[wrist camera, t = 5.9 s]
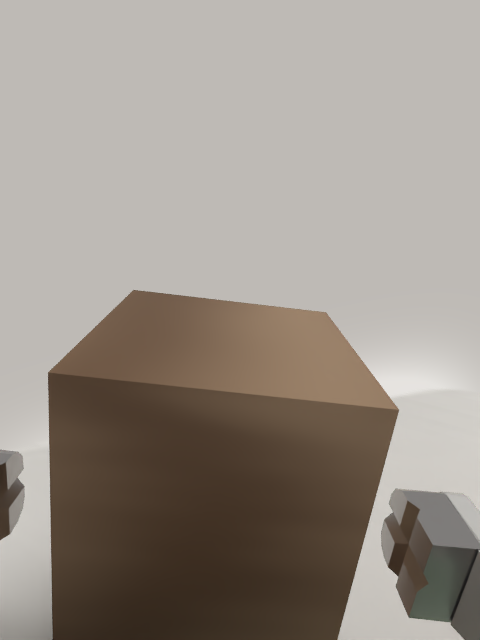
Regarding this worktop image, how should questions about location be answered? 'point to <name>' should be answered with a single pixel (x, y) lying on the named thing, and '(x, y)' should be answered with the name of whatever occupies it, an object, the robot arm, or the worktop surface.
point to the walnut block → (210, 472)
